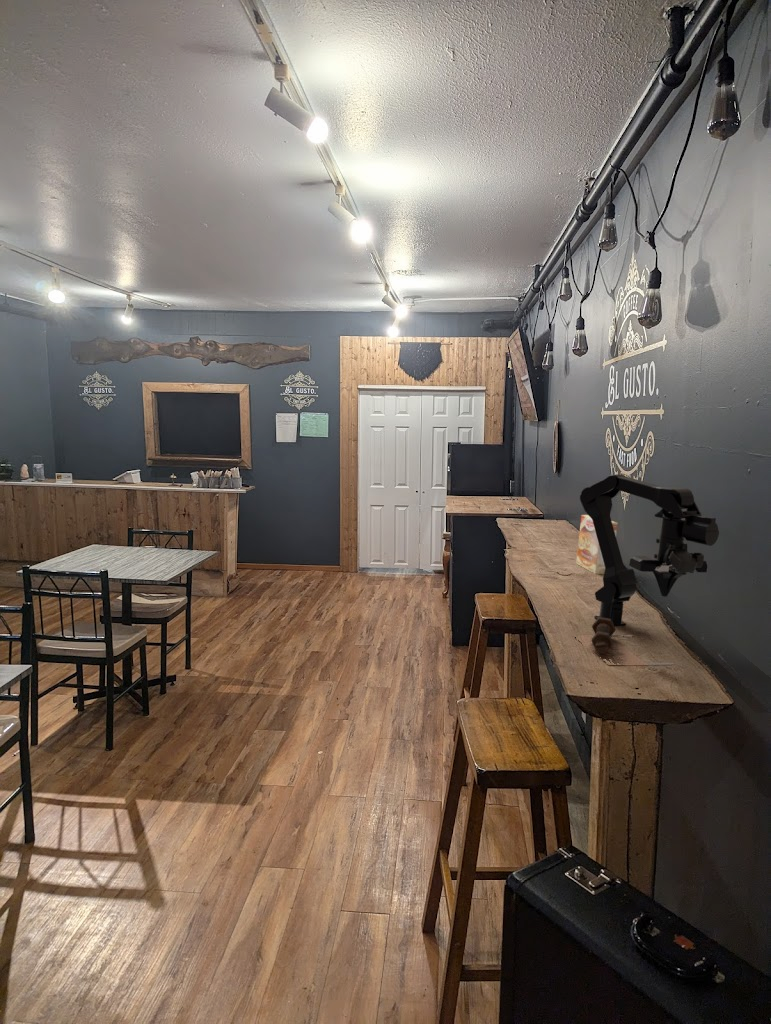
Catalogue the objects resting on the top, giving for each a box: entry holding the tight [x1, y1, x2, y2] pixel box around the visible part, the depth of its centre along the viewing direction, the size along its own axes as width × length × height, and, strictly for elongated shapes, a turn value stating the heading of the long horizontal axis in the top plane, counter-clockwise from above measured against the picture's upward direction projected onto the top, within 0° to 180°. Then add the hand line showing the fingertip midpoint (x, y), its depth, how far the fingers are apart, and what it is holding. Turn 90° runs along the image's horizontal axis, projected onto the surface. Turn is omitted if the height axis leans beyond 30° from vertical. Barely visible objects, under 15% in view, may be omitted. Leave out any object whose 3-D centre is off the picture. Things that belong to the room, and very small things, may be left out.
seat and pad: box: [578, 634, 676, 666], centre depth 155 cm, size 19×17×1 cm
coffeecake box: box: [575, 514, 619, 575], centre depth 235 cm, size 15×7×20 cm, turn 10°
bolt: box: [591, 617, 616, 654], centre depth 157 cm, size 6×5×15 cm
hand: (664, 596), depth 161 cm, fingers closed
